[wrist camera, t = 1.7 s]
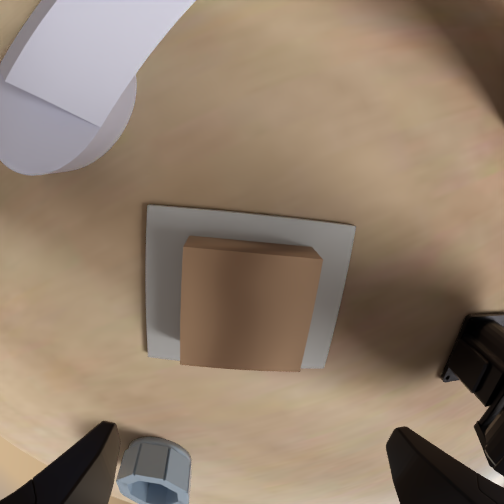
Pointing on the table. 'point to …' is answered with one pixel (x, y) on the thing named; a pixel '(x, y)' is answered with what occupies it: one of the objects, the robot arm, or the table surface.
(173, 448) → the grey ring collar
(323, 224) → the mat
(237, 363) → the block
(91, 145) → the wedge on round base
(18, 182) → the table surface
